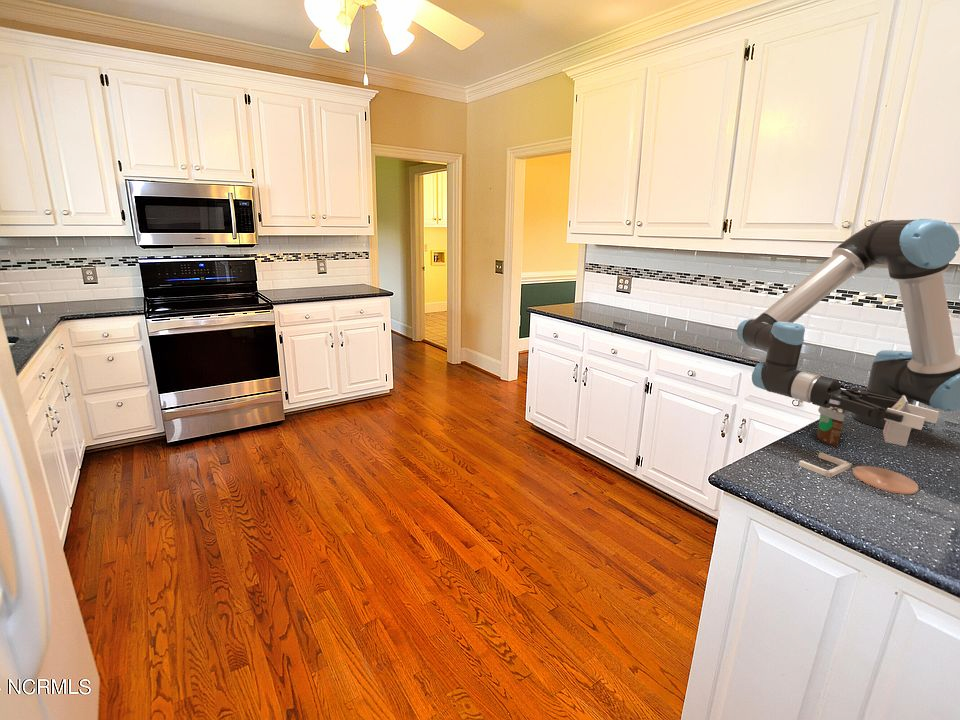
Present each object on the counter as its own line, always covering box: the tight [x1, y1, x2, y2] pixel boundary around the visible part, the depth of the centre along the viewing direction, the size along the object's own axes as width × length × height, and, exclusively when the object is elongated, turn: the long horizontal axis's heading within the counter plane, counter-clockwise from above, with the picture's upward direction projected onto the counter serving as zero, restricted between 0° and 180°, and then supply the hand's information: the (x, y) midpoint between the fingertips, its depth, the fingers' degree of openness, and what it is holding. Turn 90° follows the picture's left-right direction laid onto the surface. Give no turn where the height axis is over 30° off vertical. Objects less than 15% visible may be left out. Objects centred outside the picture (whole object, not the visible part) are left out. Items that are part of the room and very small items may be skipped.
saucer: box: [852, 465, 919, 495], centre depth 114 cm, size 12×12×1 cm
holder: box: [797, 451, 853, 479], centre depth 120 cm, size 11×7×1 cm, turn 121°
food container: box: [816, 406, 847, 448], centre depth 136 cm, size 12×6×10 cm, turn 141°
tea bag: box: [882, 395, 912, 447], centre depth 110 cm, size 4×7×10 cm, turn 144°
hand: (930, 420), depth 105 cm, fingers closed on tea bag, 8 cm apart
